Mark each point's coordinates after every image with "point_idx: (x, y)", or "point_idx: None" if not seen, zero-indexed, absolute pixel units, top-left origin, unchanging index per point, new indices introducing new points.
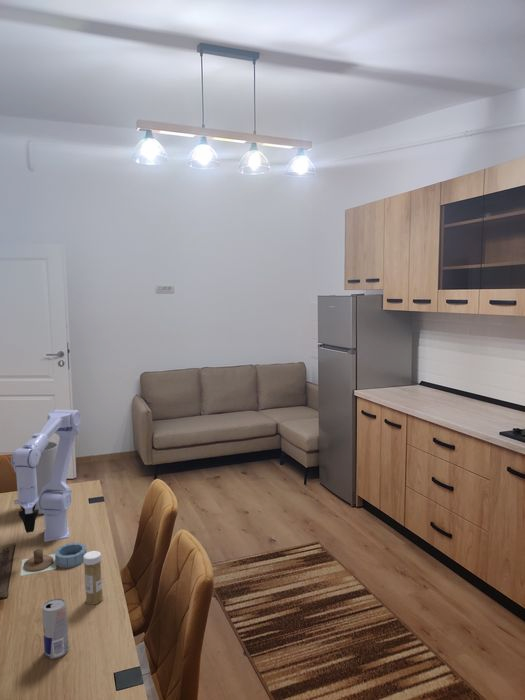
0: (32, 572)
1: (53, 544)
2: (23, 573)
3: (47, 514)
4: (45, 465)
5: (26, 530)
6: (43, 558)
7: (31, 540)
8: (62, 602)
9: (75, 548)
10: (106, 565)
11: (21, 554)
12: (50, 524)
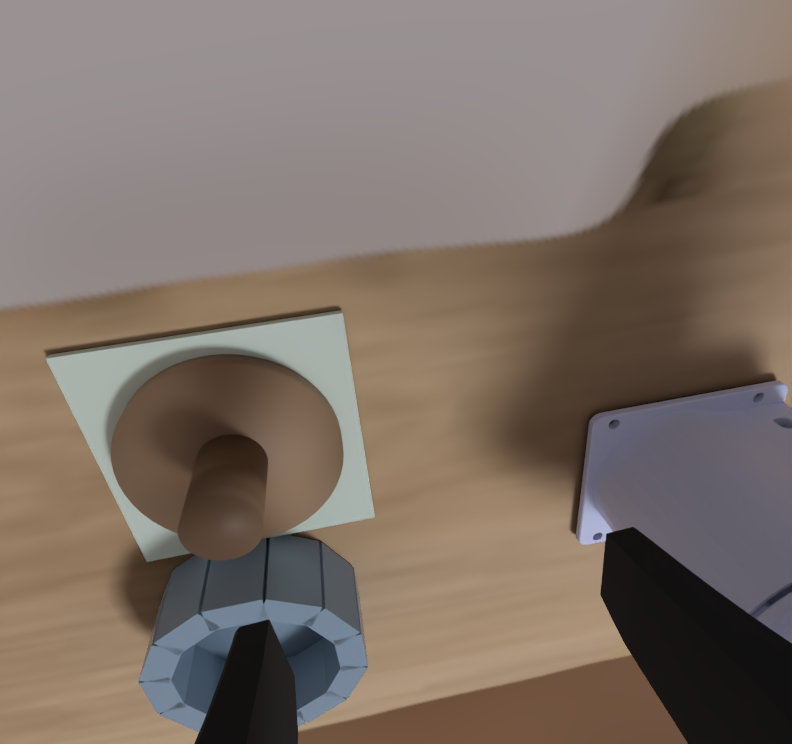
0: (102, 434)
1: (530, 471)
2: (88, 373)
3: (776, 607)
4: None
5: (224, 670)
6: (283, 481)
7: (675, 314)
8: None
9: (334, 649)
10: (172, 741)
11: (461, 282)
12: (679, 541)
